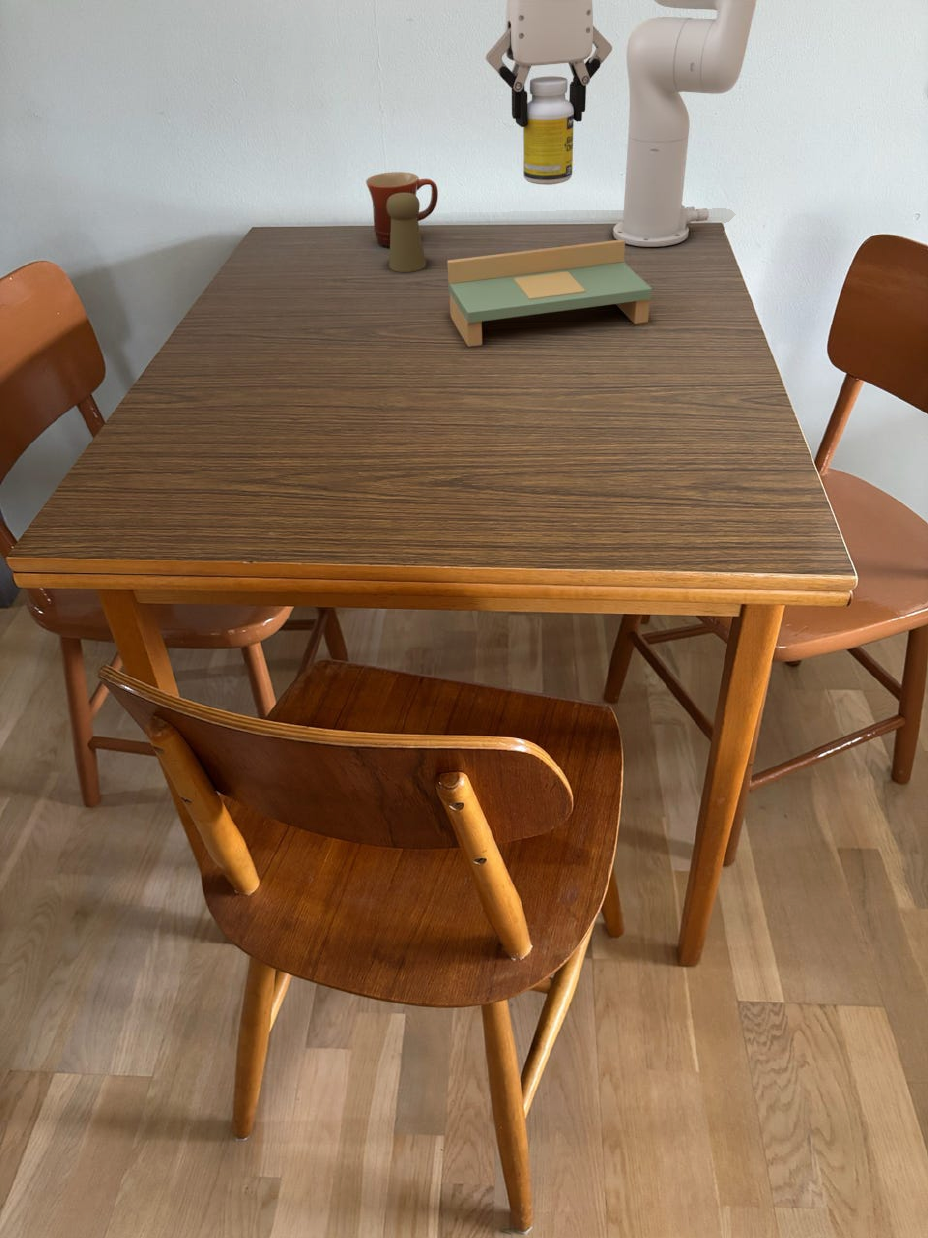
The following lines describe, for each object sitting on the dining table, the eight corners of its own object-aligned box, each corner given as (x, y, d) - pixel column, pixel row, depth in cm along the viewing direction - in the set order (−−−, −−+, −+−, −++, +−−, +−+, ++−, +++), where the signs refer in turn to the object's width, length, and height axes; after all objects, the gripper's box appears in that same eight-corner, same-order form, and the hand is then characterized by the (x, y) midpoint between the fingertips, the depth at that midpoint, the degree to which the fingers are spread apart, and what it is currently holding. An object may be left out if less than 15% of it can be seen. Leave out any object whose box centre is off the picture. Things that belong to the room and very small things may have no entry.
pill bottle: (564, 187, 123) (566, 85, 116) (516, 184, 125) (515, 84, 117) (577, 173, 128) (580, 75, 120) (531, 171, 129) (531, 73, 122)
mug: (379, 253, 161) (373, 189, 154) (366, 238, 167) (360, 175, 161) (447, 243, 164) (443, 179, 157) (432, 228, 170) (428, 167, 164)
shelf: (619, 293, 143) (622, 238, 138) (649, 323, 134) (654, 266, 129) (450, 315, 139) (447, 260, 134) (468, 348, 130) (466, 290, 125)
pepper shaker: (421, 272, 153) (416, 200, 146) (385, 271, 154) (378, 199, 147) (430, 259, 158) (425, 188, 151) (394, 258, 159) (388, 188, 152)
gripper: (611, -57, 115) (603, 109, 126) (470, -47, 112) (475, 121, 123) (633, -52, 109) (623, 121, 120) (485, -42, 106) (489, 135, 118)
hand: (548, 120), depth 122 cm, fingers closed on pill bottle, 6 cm apart
